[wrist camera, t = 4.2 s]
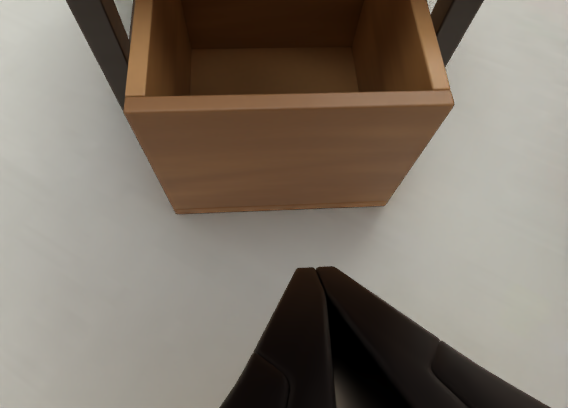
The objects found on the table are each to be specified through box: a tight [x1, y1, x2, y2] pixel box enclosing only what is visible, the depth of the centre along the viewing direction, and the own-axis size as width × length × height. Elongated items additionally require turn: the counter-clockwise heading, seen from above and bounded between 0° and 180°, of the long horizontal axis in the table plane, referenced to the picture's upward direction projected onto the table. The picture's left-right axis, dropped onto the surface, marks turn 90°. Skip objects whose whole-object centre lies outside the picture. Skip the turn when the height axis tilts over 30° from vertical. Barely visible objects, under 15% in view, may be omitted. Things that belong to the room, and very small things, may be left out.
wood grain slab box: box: [123, 0, 454, 214], centre depth 18 cm, size 10×10×8 cm
